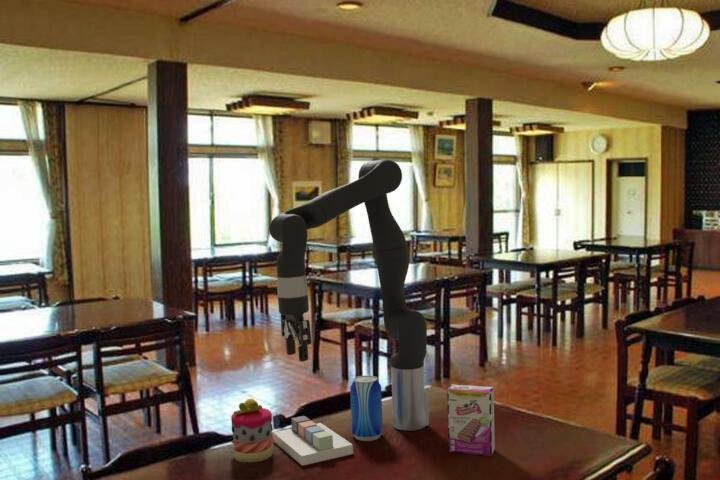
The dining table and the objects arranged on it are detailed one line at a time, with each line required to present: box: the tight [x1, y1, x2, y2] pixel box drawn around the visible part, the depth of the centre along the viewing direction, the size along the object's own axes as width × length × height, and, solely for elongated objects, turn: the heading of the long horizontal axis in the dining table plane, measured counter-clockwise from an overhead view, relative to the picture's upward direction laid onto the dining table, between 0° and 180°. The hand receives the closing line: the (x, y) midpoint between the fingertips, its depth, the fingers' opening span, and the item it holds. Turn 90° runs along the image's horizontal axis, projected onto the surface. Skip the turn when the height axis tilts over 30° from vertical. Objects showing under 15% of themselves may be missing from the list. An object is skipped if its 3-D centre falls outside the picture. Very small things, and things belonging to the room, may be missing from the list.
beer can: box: [349, 375, 384, 442], centre depth 184 cm, size 8×8×16 cm
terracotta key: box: [298, 420, 317, 440], centre depth 180 cm, size 4×4×4 cm
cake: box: [230, 398, 275, 463], centre depth 174 cm, size 10×11×15 cm
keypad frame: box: [272, 422, 354, 466], centre depth 178 cm, size 14×20×2 cm
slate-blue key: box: [305, 426, 325, 445], centre depth 176 cm, size 4×4×4 cm
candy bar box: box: [446, 384, 496, 457], centre depth 170 cm, size 11×5×16 cm, turn 71°
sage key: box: [313, 431, 333, 451], centre depth 171 cm, size 4×4×4 cm
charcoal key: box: [291, 415, 311, 434], centre depth 184 cm, size 4×4×4 cm
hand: (297, 357), depth 171 cm, fingers open, 8 cm apart
